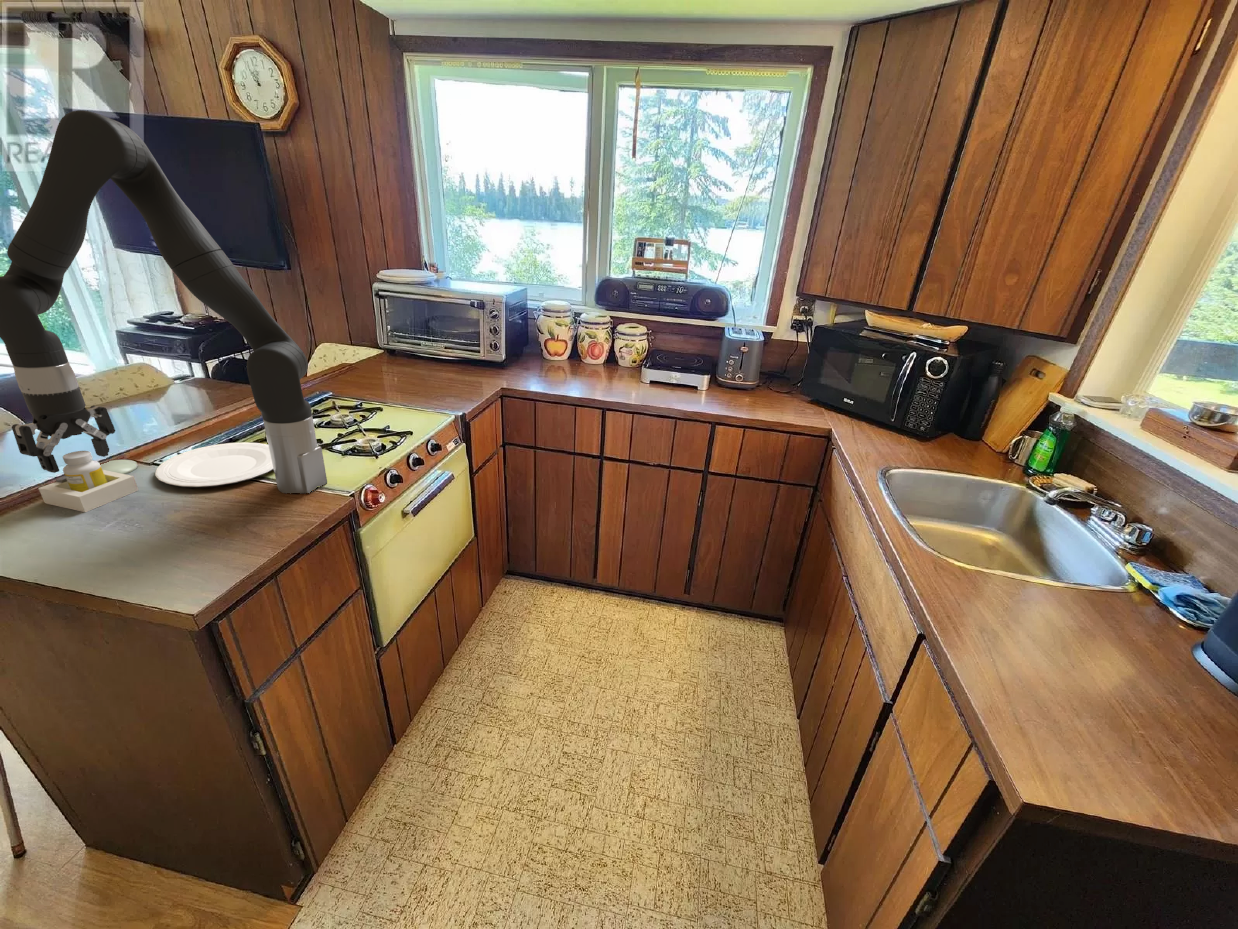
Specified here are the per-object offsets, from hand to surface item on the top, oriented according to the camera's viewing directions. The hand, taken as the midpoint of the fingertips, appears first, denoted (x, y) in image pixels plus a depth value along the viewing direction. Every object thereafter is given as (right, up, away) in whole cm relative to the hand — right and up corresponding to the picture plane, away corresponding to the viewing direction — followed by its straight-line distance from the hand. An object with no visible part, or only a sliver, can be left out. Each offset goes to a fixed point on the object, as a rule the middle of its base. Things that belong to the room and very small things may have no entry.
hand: (79, 463), depth 101 cm
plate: (+14, -1, +20) cm, 24 cm away
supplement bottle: (0, -7, +3) cm, 8 cm away
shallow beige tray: (0, -7, +3) cm, 8 cm away
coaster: (-7, -2, +14) cm, 15 cm away
